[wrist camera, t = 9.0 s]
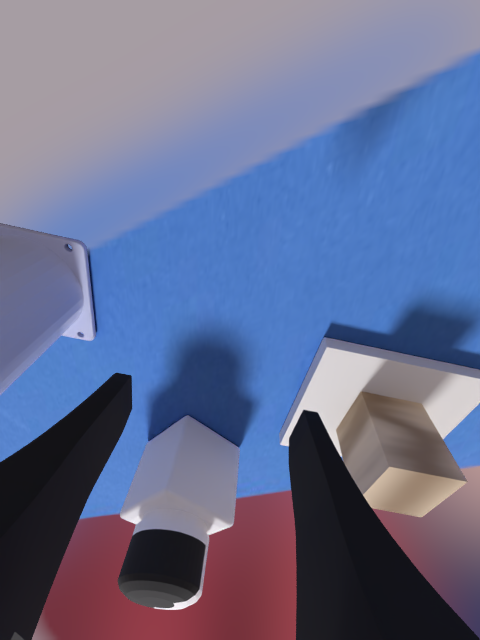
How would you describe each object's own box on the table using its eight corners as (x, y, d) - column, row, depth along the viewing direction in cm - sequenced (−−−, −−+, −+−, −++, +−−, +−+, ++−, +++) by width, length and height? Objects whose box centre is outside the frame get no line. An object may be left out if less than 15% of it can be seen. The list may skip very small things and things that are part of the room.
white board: (279, 433, 27) (279, 444, 26) (323, 336, 21) (326, 347, 20) (406, 457, 28) (411, 469, 27) (488, 371, 21) (499, 383, 20)
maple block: (335, 429, 25) (353, 504, 20) (360, 391, 22) (389, 466, 17) (390, 440, 25) (421, 517, 20) (421, 403, 22) (467, 481, 17)
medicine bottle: (146, 441, 30) (86, 595, 20) (187, 412, 27) (141, 578, 17) (198, 470, 32) (168, 621, 22) (241, 447, 29) (229, 610, 19)
